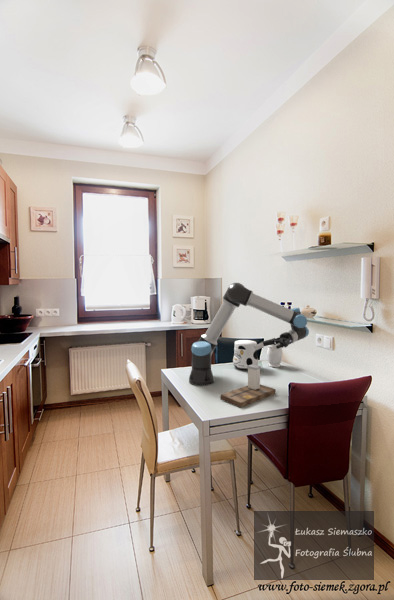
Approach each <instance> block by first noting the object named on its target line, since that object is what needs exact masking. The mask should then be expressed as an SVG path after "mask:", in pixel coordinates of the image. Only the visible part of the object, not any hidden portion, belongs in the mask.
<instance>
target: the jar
mask: <svg viewBox="0 0 394 600" xmlns="http://www.w3.org/2000/svg"><path fill="white" fill-rule="evenodd" d="M273 345H274V344H273ZM273 345H268V346H267V351H266V352H267V361H268V366H269V367H270V368H280V367H281V366H282V365H281V362H282V358H283V348H280V349H277V350H275V351H272V350H271V346H273Z"/></svg>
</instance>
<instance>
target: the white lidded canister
mask: <svg viewBox="0 0 394 600" xmlns="http://www.w3.org/2000/svg"><path fill="white" fill-rule="evenodd" d="M247 368H248V369H247V385H248V387H249V388H251V389H254V390H256V389H259V388H260V384H261V369H262V366H261V365H259V364H258V365H254V364H252V365H248V366H247Z"/></svg>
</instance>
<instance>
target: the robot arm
mask: <svg viewBox="0 0 394 600" xmlns="http://www.w3.org/2000/svg"><path fill="white" fill-rule="evenodd" d="M241 305H242V306H244V307H247V306H249V307H251V308H253V309H255V310H258V311H260V312H262V313H264V314H268V315H270V316H272V317H274V318H276V319H279V320H281V321H284V322H286V323H288V324H290V327H291V329H289V330H287V331H285V332H282V333H280V335H279V337H277V338H275V337H274V338H270V339H267V340H263V341H260V342H259V343H257V345H255V346H254V348H255V350H257V351H258V350H260V349H263V348H264V347H268V345H273V344H274V345H273V346H271V350H272V351H275V350H277V349H280V348H282V349H283V348H287V347H288V346H290V345H291V344H294V343H296V342H298V341H300V340H302V339H303V340H304V339H305V338H307V336H308V335H309V334H310V330H309V328H308V327H307V325H308V319H307V317H306V315H304V314H302V312H301V309H300V308H299V307H294V308H287V307H285V306H283V305H281V304H279V303H277V302H273V301H272V300H269V299H267V298H265V297H263V296H260V295H258V294H255V293H254V292H253V291H252V290H250V289H249V288H247V287H245V285H243V284H242V283H240V282H233V283H231V284H230V285H228V287H227V290H226V291H225V293H224V295H223V297H222V304H220V307H219V309H218V310H217V312H216V314H215V316H214V318H213V319H212V321H211V323H210V324H209V326H208V328H207V330H206V331H205V333H204V334H201V335H200V338H199V339H198V341H195V342H193V343H192V345H191V348H190V349H191V369H190V370H191V371H190V374H189V377H188V383H190V384H191V385H193V386H194V385H195V386H209V385H212V384H214V383H215V377H214V374H213V371H212V355H213V352H214V350H216V347H217V346H218V339H219V338H220V335H221V334H222V332H223V330H224V329H225V327H226V325H227V323H228V322H229V320H230V318H231V317H232V314H233V313H234V311H235V309H238V308H239V307H240V306H241Z"/></svg>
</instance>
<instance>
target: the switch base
mask: <svg viewBox="0 0 394 600" xmlns="http://www.w3.org/2000/svg"><path fill="white" fill-rule="evenodd" d="M276 391H277V389H276V388H273V387H270V386H268V385H264V384H261V383H260V388H259V389H256V390H254V389H251V388H249V387H248V384H247V385H244V386H242V387H239V388H238V387H237V388H236V389H233V390H229V391H226V392H224V393H221V394H220V395H219V397H220V398H219V399H220V400H222V401H224V402H226V403H229V404H230V405H233V406H236V407H239V408H243V407H246V406H248V405H251V404H254V403H256V402H258V401H261V400H263V399H266V398H269V397H271V396H274V395H276V394H277V392H276Z"/></svg>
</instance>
